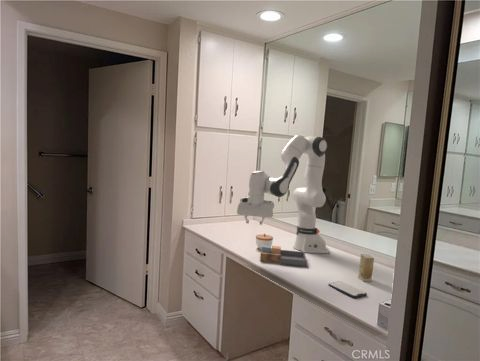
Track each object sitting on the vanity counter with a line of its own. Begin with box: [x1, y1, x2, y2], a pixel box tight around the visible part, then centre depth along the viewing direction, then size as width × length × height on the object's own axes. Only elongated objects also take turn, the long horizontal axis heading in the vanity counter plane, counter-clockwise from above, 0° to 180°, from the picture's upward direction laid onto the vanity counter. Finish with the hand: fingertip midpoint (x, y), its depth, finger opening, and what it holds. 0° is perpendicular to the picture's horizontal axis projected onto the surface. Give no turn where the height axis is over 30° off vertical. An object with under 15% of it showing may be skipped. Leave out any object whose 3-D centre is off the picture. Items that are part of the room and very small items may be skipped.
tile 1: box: [271, 245, 282, 253], centre depth 193 cm, size 5×5×2 cm
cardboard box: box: [259, 247, 281, 264], centre depth 194 cm, size 11×12×4 cm
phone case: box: [328, 280, 368, 299], centre depth 155 cm, size 9×2×16 cm
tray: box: [279, 249, 308, 268], centre depth 193 cm, size 14×16×4 cm
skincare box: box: [357, 253, 375, 283], centre depth 170 cm, size 6×4×12 cm
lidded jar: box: [255, 233, 274, 250], centre depth 213 cm, size 11×11×9 cm
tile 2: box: [262, 245, 272, 252], centre depth 194 cm, size 5×5×2 cm
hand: (254, 223), depth 193 cm, fingers open, 6 cm apart
